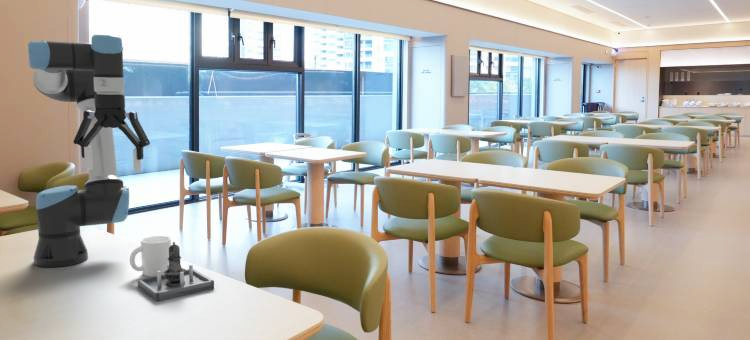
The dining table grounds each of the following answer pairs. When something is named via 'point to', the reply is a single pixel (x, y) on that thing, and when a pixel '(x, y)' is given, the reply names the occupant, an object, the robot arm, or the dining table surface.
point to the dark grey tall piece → (174, 267)
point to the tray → (162, 292)
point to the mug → (152, 255)
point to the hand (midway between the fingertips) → (113, 170)
